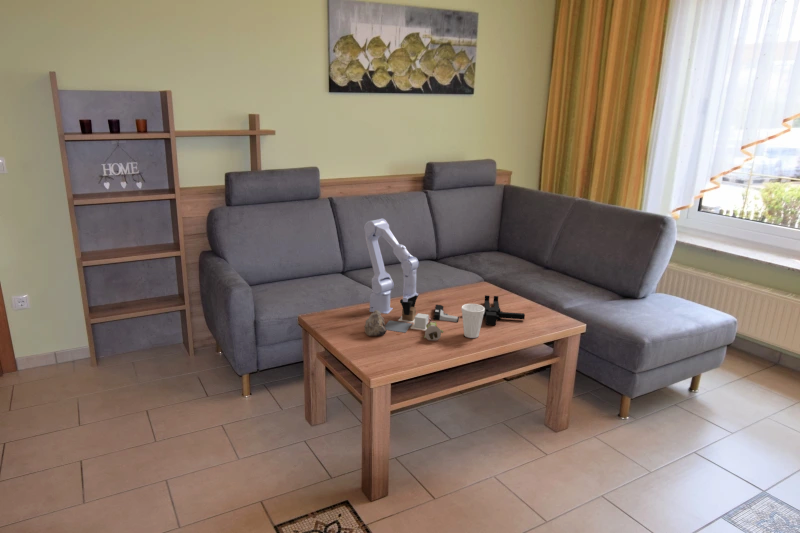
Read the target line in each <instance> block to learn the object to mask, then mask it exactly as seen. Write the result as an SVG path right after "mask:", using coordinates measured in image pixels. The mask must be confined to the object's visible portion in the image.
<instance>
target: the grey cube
mask: <svg viewBox="0 0 800 533" xmlns="http://www.w3.org/2000/svg"><path fill="white" fill-rule="evenodd" d="M428 317H430V315H429V314H426V313H419V312H418V313H416V316H415V325H414V328H421V329H426V325H427V323H429V319H428Z"/></svg>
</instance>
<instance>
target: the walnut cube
mask: <svg viewBox="0 0 800 533" xmlns="http://www.w3.org/2000/svg"><path fill="white" fill-rule="evenodd" d="M416 308H417V307H416V306H415V307H411V308H410V313H409V315H404V311H403V308H402V311H401V312H402V313H401V316H402V320H408V321H413V320H414V319H415V316H416V315H417V313H416V311H417V310H416Z"/></svg>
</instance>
